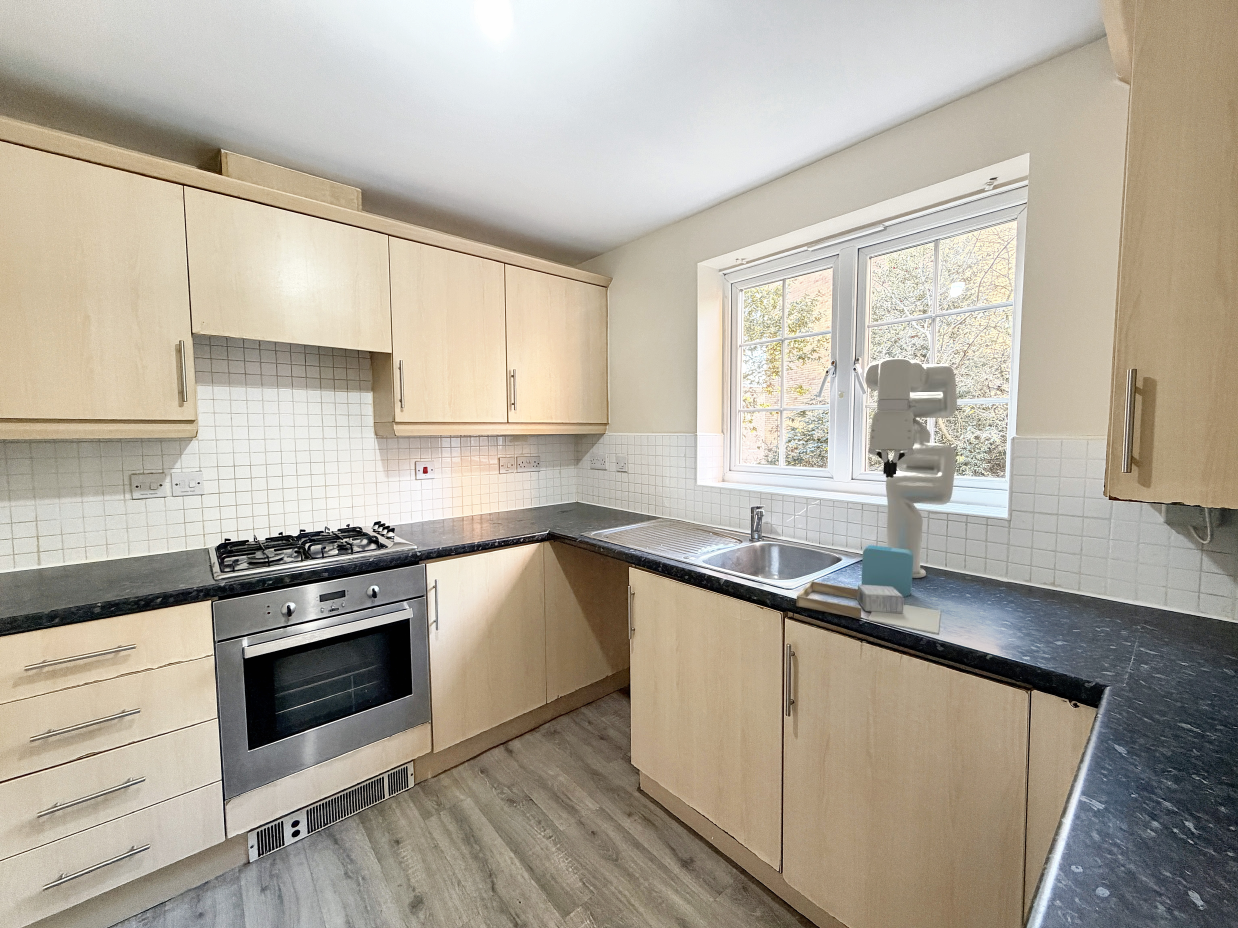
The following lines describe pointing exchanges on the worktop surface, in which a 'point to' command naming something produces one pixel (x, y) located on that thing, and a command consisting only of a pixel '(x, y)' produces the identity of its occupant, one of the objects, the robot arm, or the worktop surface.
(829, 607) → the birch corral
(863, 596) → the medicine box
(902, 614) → the cream flat board
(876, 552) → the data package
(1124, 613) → the worktop surface
